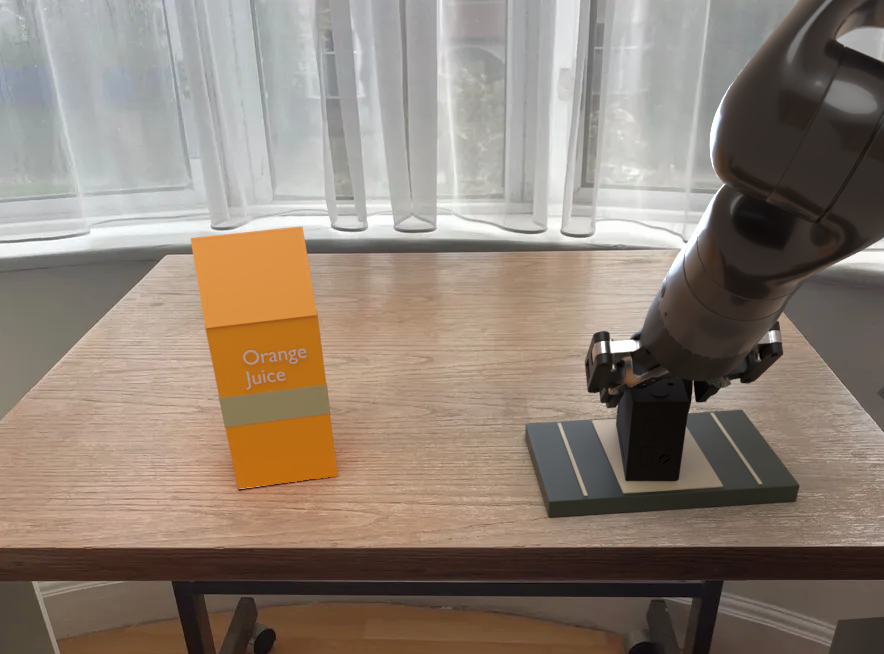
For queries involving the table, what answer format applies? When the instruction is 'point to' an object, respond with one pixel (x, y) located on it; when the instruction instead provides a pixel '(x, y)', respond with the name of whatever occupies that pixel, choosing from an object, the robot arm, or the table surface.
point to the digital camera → (653, 429)
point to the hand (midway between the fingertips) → (654, 394)
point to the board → (699, 485)
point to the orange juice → (266, 355)
